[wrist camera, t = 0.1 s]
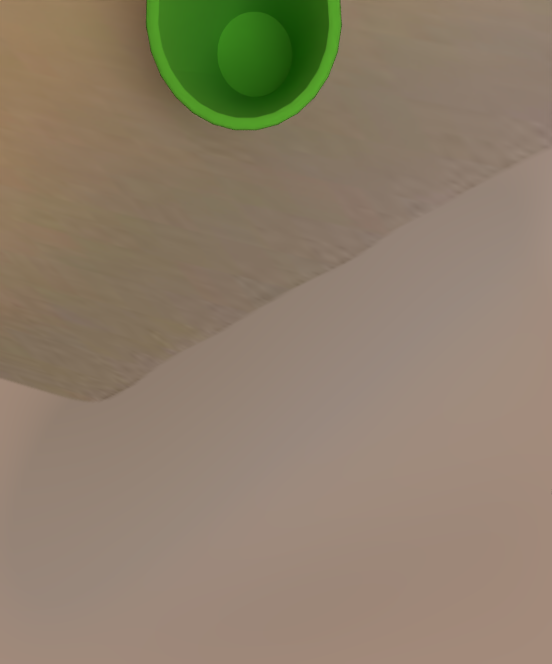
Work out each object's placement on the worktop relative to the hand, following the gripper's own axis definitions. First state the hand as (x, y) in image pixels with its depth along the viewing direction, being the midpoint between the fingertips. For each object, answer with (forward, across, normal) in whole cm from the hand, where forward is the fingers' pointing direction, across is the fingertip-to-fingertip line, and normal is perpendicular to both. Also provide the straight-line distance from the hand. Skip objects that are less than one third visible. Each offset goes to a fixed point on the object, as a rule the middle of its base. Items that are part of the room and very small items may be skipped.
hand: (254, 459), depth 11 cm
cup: (+29, 0, +11) cm, 31 cm away
